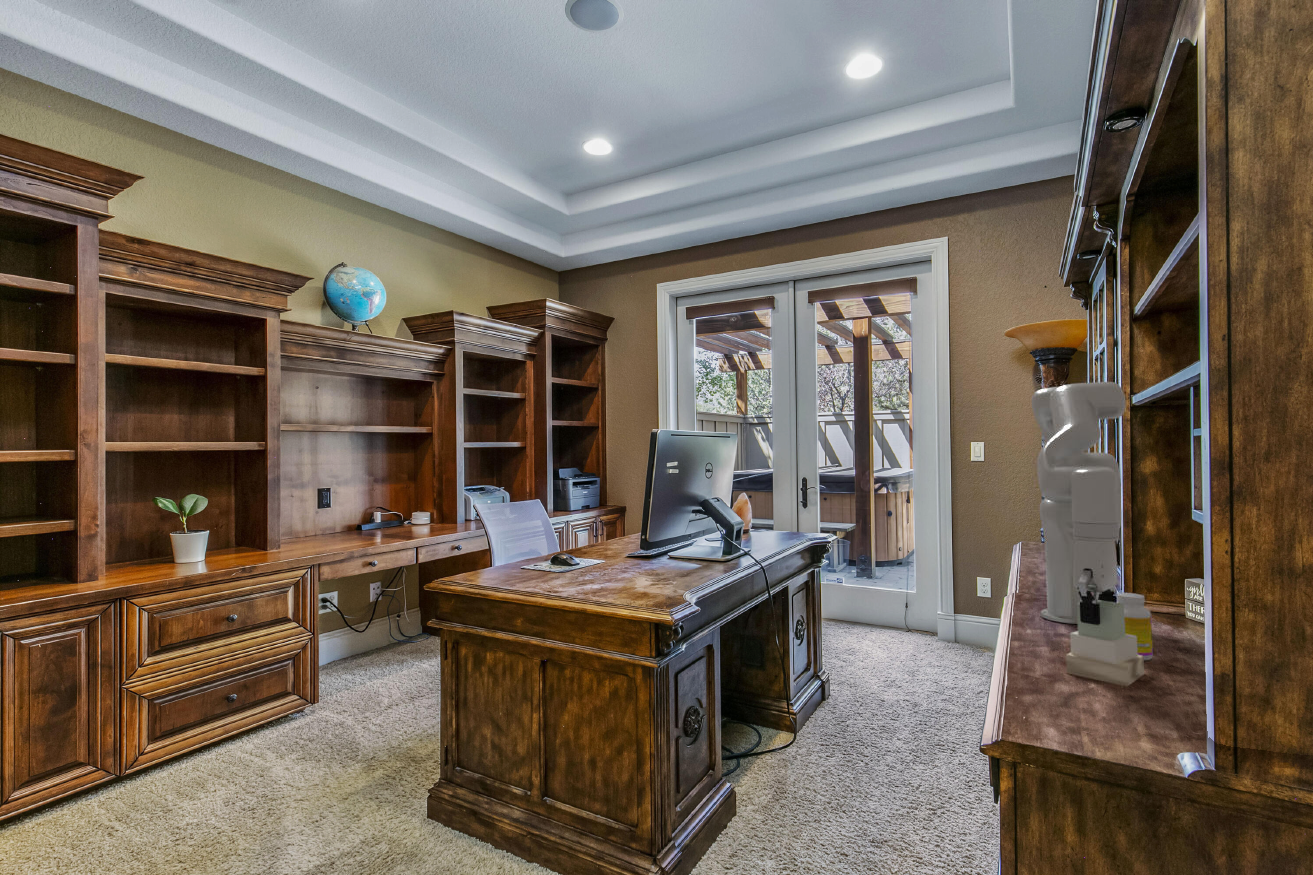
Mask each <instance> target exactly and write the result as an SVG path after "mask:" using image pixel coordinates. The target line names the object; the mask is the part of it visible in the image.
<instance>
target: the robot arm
mask: <svg viewBox="0 0 1313 875" xmlns="http://www.w3.org/2000/svg"><path fill="white" fill-rule="evenodd" d="M1126 401H1127V400H1126V396H1125V394H1124V390H1123V389H1122V387H1121V386H1120V385H1119V384H1118V383H1116V382H1115V381H1114V382H1113V381H1099V382H1098V381H1097V382H1081V383H1080V382H1079V383H1070V384H1064V385H1061V386H1051V387H1047V388H1046V387H1045V388H1042V389H1039V390H1038V389H1037V391H1035V392H1034V393H1033V394H1032V396H1031V409H1032V412H1033V413H1032V414H1033V416H1034V418H1035V421H1036V423H1037V425H1038V427H1039V429H1040V432H1041V434H1042V435H1041V436H1042V440H1043V445H1042V448H1041V449H1040V451H1039V453H1038V456H1037V459H1036V470H1037V480H1038V481H1037V482H1038V487H1039V490H1040V494H1041V496H1042V497H1043V498H1044V499H1043V500H1041V502H1040V504H1039V508H1038V510H1039V518H1040V522H1041V526H1042V527H1041V528H1042V533H1043V540H1044V557H1045V579H1046V581H1045V582H1046V603H1047V605H1046V607H1047V608H1044V609H1042V610H1041V609H1040V616H1041V617H1042V618H1043V619H1046V620H1048V621H1053V622H1058V623H1062V624H1063V623H1064V624H1071V625H1072V624H1073V625H1078V621H1077V603H1079V602H1080V621H1081V622H1082V623H1088V624H1094V625H1099V624H1100V604H1098V603H1097V602H1098V600H1101V601H1108V602H1115V603H1118V600H1117V594H1118V591H1117V588H1116V586H1117V585H1118V560H1117V559H1118V558H1117V551H1116V550H1117V549H1116V542H1117V541H1120V528H1121V525H1122V500H1121V499H1122V494H1121V490H1122V489H1121V487H1122V482H1121V474H1120V467H1119V463H1118V461H1117V459H1116V458H1115V457H1114V456H1113V455H1112V454H1110V453H1107V452H1085V451H1087V450H1090V449H1091V448H1093V447H1094V446H1095V445H1096V444H1098V442H1099V441H1100V438H1101V434H1102V433H1101V429H1100V426H1099V421H1098V420H1107V419H1109V420H1112V419H1114V420H1115V419H1119V418H1120V417H1122V416H1123V415H1124V413H1125V410H1126V405H1127V404H1126V403H1127V402H1126ZM1092 593H1093V594H1092Z"/></svg>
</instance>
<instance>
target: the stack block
mask: <svg viewBox="0 0 1313 875" xmlns="http://www.w3.org/2000/svg"><path fill="white" fill-rule="evenodd" d="M1097 603H1098V604H1100V624H1099V625H1094V624H1088V623H1082V622H1081V621H1080V602H1079V603H1077V621H1078V624H1077V631H1078V634H1080V635H1085V636H1091V637H1096V638H1102V639H1107V640H1112V641H1114V640H1116V639H1118V638H1120V637H1122V636H1124V635H1125V618H1124V604H1121V603H1119V602H1117V603H1115V602H1108V601H1101V600H1098V602H1097Z"/></svg>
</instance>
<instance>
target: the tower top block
mask: <svg viewBox="0 0 1313 875" xmlns="http://www.w3.org/2000/svg"><path fill="white" fill-rule="evenodd" d="M1069 637H1070V639H1069V640H1070V652H1071V654H1075V655H1079V656H1083V657H1087V658H1091V659H1095V660H1099V661H1103V662H1107V663H1112V664H1119V663H1122V662H1125V661H1128V660H1131V659H1133V658H1136V657H1138V654H1137V636H1133V635H1128V634H1125V635H1124V636H1122V637H1120V638H1118V639H1116V640H1114V641H1112V640H1107V639H1102V638H1096V637H1091V636H1085V635H1080V634H1078V630H1077V631H1073V632H1069Z"/></svg>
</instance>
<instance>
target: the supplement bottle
mask: <svg viewBox="0 0 1313 875" xmlns="http://www.w3.org/2000/svg"><path fill="white" fill-rule="evenodd" d="M1116 596H1117V602H1118V603H1121V604H1124V618H1125V634H1128V635H1133V636H1137V654H1138V655H1143V656H1144V661H1150V660H1152V659H1153V658H1154V650H1153V649H1154V647H1153V628H1152V626H1153V625H1152V612H1151V611H1150V610H1149V609H1148V608H1147V607H1146V606H1145V607H1144V604H1145V602H1146V600H1145V598H1146V597H1145V595H1143V594H1138V593H1135V592H1133V593H1132V592H1117V594H1116Z"/></svg>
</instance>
